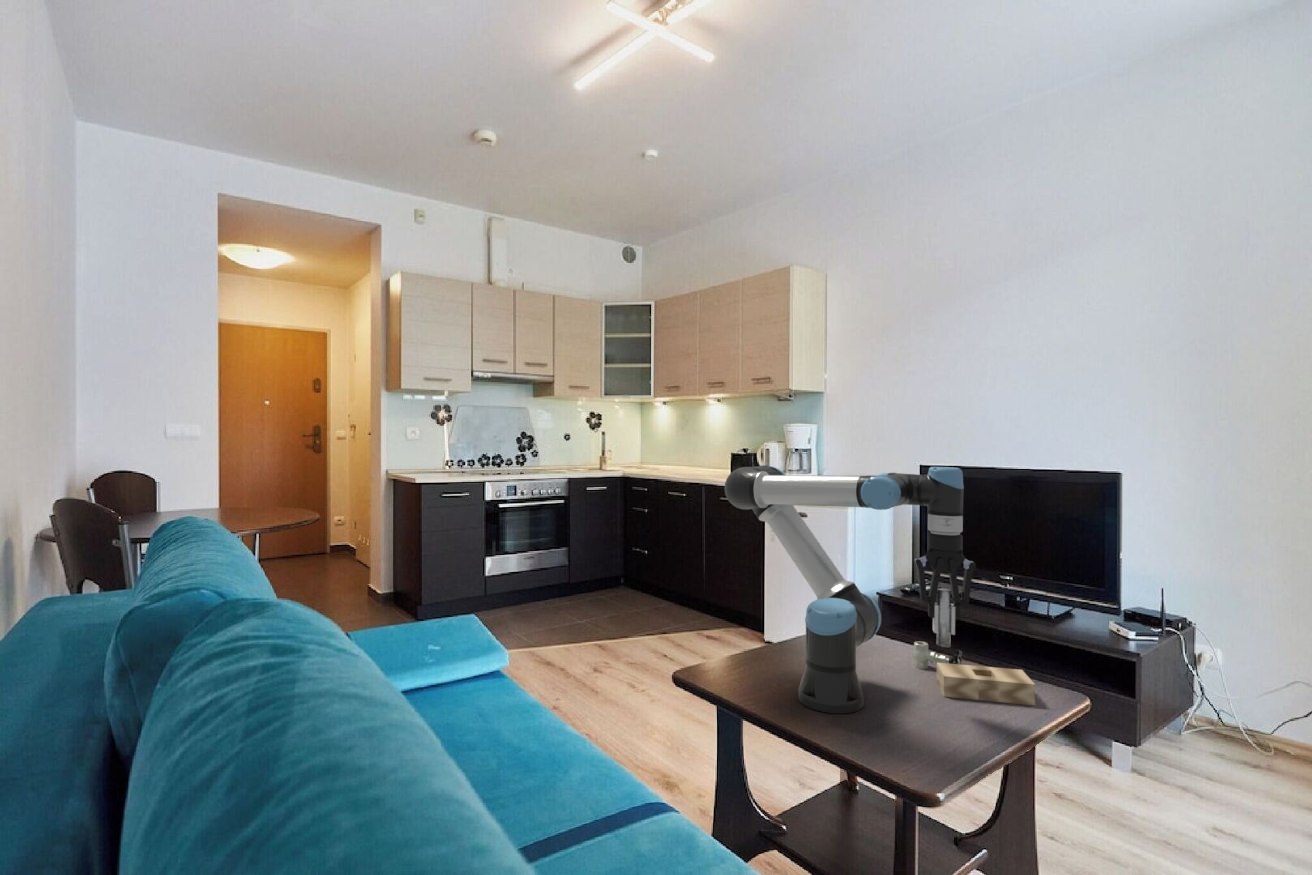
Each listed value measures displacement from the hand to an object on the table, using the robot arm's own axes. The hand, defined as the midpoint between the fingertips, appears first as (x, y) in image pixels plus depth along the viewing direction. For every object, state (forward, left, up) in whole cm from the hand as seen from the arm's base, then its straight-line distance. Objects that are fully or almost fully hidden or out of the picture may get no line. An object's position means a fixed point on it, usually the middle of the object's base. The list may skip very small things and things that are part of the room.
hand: (943, 631), depth 149 cm
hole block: (+11, +12, -18) cm, 24 cm away
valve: (+3, +26, -18) cm, 32 cm away
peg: (0, 0, -3) cm, 3 cm away
